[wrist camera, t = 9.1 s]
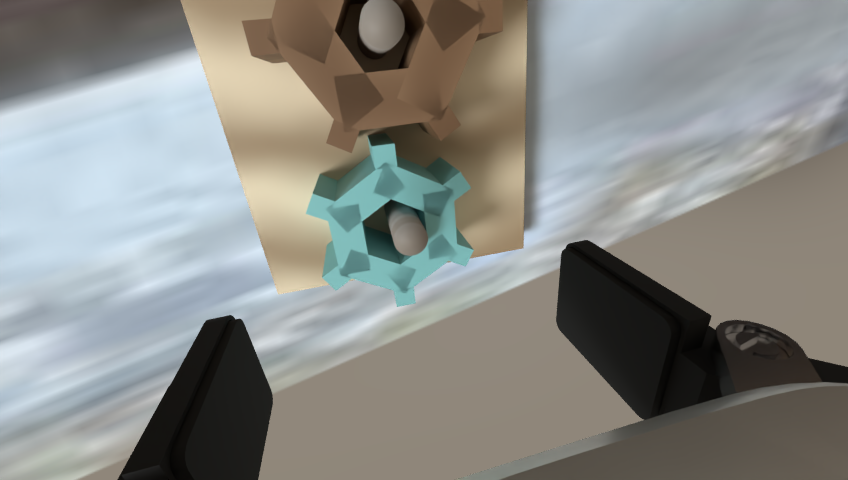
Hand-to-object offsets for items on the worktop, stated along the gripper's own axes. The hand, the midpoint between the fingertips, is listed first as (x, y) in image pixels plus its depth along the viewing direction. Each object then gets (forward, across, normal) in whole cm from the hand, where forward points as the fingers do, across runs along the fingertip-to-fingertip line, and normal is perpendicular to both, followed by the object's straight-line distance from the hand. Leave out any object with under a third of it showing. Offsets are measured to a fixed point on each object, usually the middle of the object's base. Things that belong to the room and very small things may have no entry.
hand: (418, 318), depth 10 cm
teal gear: (+11, -1, 0) cm, 11 cm away
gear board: (+13, -1, -4) cm, 14 cm away
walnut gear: (+11, -1, -8) cm, 14 cm away
